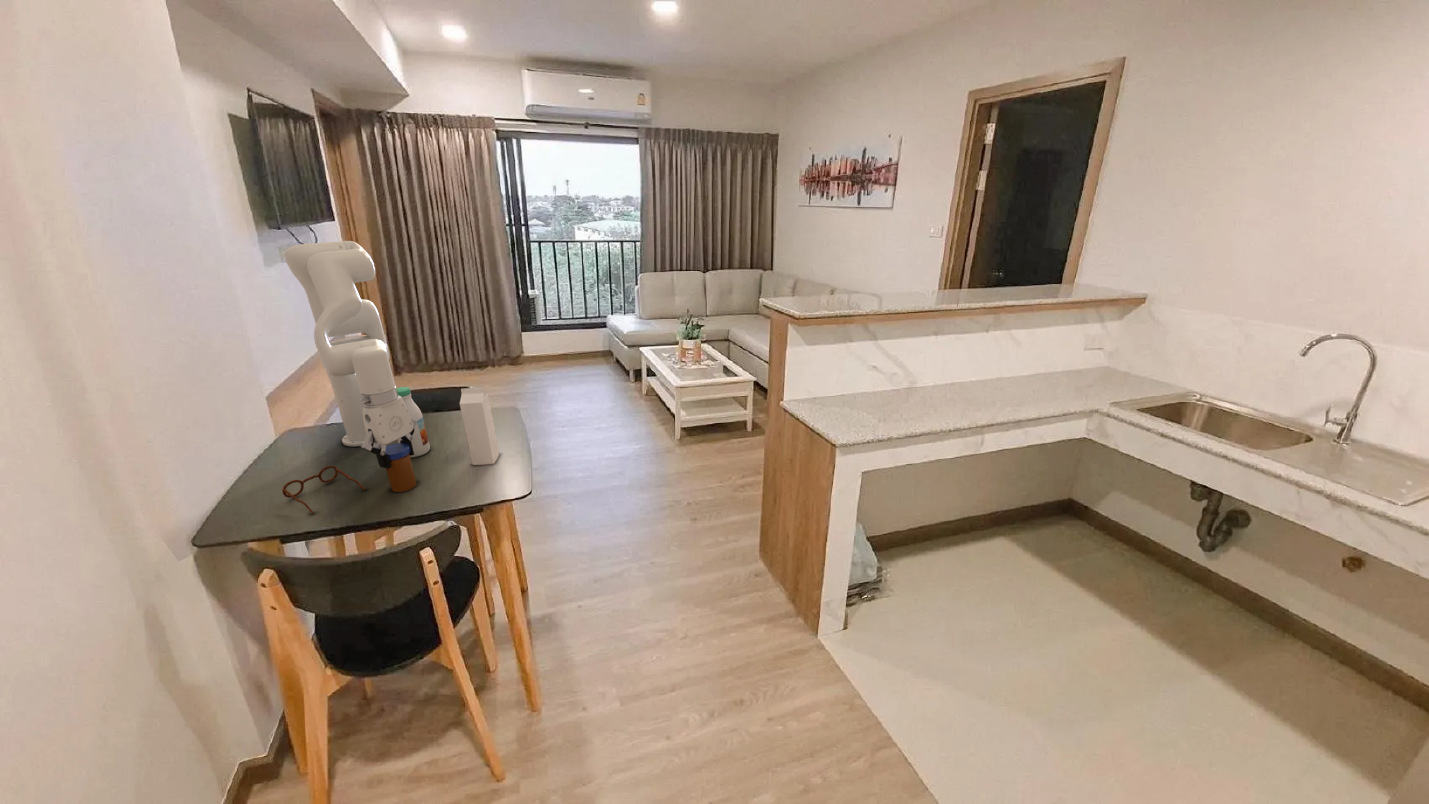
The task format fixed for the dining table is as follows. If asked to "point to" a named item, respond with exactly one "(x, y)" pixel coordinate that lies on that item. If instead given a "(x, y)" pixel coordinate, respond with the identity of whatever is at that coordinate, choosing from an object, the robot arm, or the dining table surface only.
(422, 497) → the dining table surface
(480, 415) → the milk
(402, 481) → the jar
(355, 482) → the glasses
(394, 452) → the lid
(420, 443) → the milk bottle
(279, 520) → the dining table surface
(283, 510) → the dining table surface
